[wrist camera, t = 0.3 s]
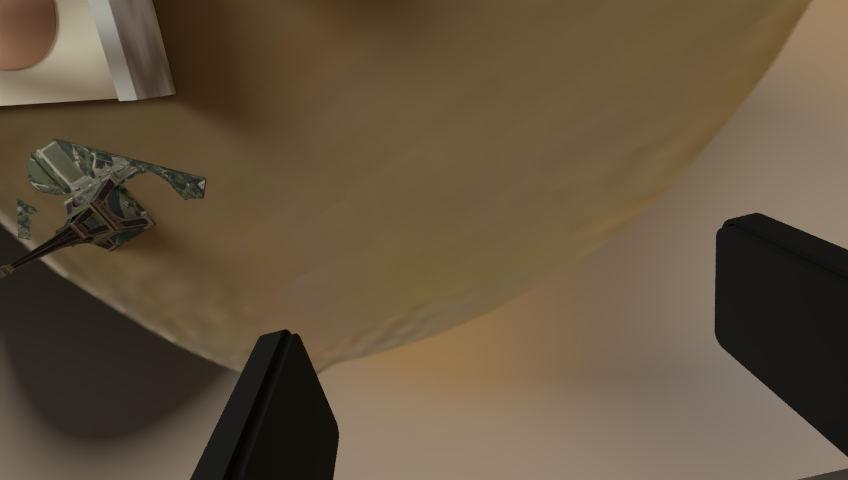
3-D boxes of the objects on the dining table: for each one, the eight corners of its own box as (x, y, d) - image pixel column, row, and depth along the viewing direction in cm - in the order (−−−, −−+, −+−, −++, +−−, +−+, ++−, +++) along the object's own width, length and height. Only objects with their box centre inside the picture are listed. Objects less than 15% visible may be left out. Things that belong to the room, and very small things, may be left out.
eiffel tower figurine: (211, 175, 38) (124, 230, 26) (199, 276, 42) (117, 367, 29) (19, 126, 36) (-179, 161, 23) (23, 238, 39) (-147, 320, 27)
